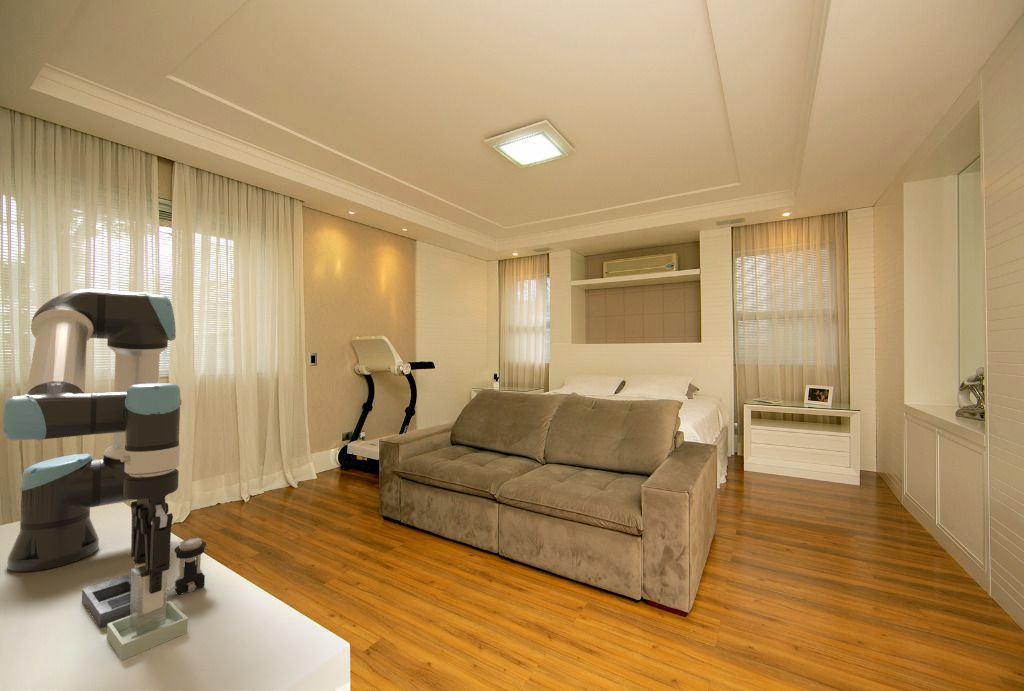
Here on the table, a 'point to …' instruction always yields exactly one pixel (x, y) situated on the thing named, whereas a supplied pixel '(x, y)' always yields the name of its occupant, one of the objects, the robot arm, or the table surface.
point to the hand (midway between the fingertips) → (148, 604)
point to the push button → (189, 566)
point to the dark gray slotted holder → (108, 600)
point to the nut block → (137, 617)
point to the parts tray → (145, 633)
